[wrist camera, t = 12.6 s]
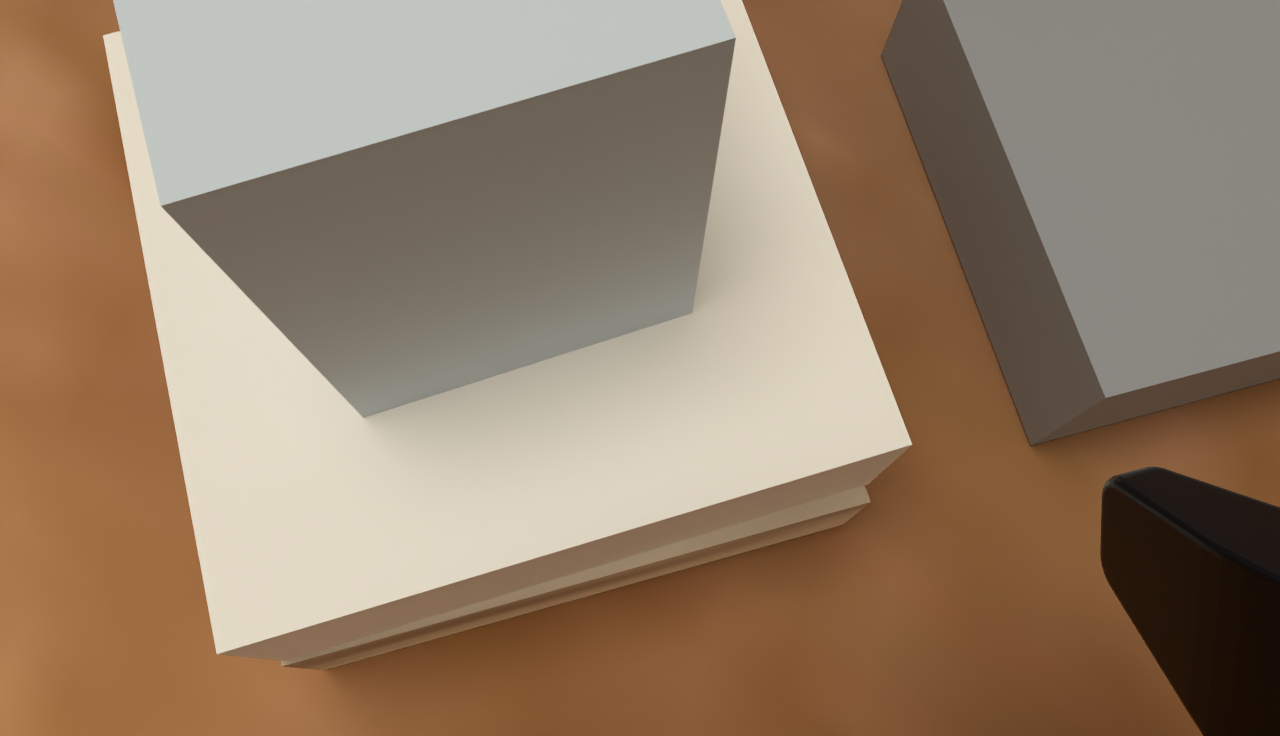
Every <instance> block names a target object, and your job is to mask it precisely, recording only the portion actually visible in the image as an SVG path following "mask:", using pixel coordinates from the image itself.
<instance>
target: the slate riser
mask: <svg viewBox="0 0 1280 736" xmlns="http://www.w3.org/2000/svg"><path fill="white" fill-rule="evenodd" d="M881 56H882V58H883V61H884V63H885V66H886V69H887V71H888V74H889V77H890V79H891V82H892V84H893V87H894V90H895V92H896V95H897V97H898V100H899V103H900V105H901V108H902V111H903V113H904V116H905V118H906V121H907V124H908V126H909V129H910V131H911V134H912V137H913V139H914V142H915V145H916V147H917V150H918V152H919V155H920V158H921V160H922V163H923V165H924V168H925V171H926V173H927V176H928V179H929V181H930V184H931V186H932V189H933V192H934V194H935V197H936V199H937V202H938V205H939V207H940V210H941V213H942V215H943V218H944V220H945V223H946V226H947V228H948V231H949V233H950V236H951V239H952V241H953V244H954V247H955V249H956V252H957V254H958V257H959V260H960V262H961V265H962V267H963V270H964V273H965V275H966V278H967V281H968V283H969V286H970V288H971V291H972V294H973V296H974V299H975V301H976V304H977V307H978V309H979V312H980V315H981V317H982V320H983V322H984V325H985V328H986V330H987V333H988V335H989V338H990V341H991V343H992V346H993V349H994V351H995V354H996V356H997V359H998V362H999V364H1000V367H1001V369H1002V372H1003V375H1004V377H1005V380H1006V383H1007V385H1008V388H1009V390H1010V393H1011V396H1012V398H1013V401H1014V403H1015V406H1016V409H1017V411H1018V414H1019V417H1020V419H1021V422H1022V424H1023V427H1024V430H1025V432H1026V435H1027V437H1028V440H1029V443H1030V445H1031V446H1032V445H1035V444H1039V443H1043V442H1047V441H1050V440H1054V439H1058V438H1061V437H1065V436H1069V435H1072V434H1076V433H1080V432H1084V431H1087V430H1091V429H1095V428H1098V427H1102V426H1106V425H1110V424H1113V423H1117V422H1121V421H1124V420H1128V419H1132V418H1135V417H1139V416H1143V415H1147V414H1150V413H1154V412H1158V411H1161V410H1165V409H1169V408H1172V407H1176V406H1180V405H1184V404H1187V403H1191V402H1195V401H1198V400H1202V399H1206V398H1210V397H1213V396H1217V395H1221V394H1224V393H1228V392H1232V391H1235V390H1239V389H1243V388H1247V387H1250V386H1254V385H1258V384H1261V383H1265V382H1269V381H1272V380H1276V379H1280V0H902V3H901V6H900V8H899V11H898V13H897V16H896V19H895V21H894V24H893V26H892V29H891V32H890V34H889V37H888V39H887V42H886V45H885V47H884V50H883V52H882V55H881Z"/></svg>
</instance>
